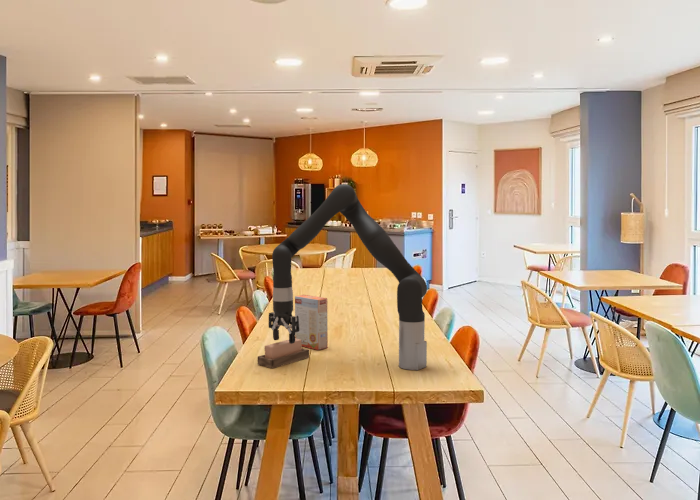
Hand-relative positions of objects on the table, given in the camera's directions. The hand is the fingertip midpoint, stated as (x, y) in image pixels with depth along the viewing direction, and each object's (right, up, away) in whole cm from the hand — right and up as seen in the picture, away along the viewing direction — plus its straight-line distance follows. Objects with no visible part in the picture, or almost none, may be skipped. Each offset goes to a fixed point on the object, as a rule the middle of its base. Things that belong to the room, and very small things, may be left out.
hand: (284, 341), depth 218 cm
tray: (0, -8, +1) cm, 8 cm away
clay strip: (0, -7, +1) cm, 7 cm away
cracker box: (+9, -6, +22) cm, 25 cm away
